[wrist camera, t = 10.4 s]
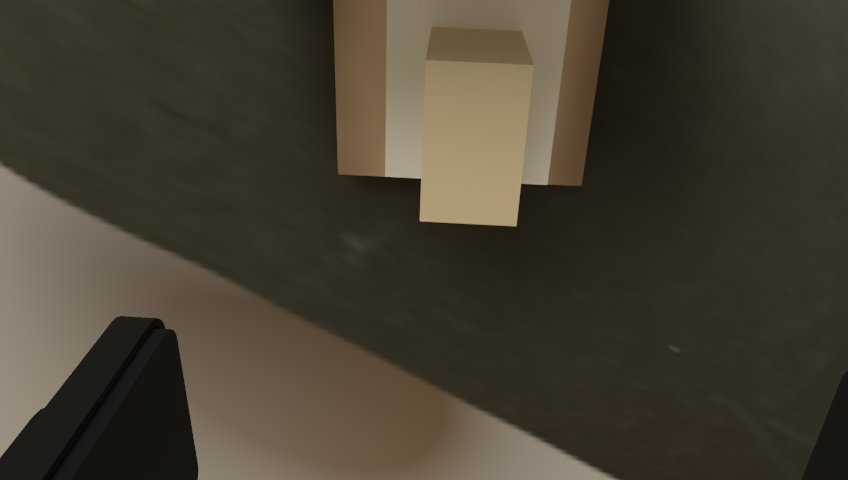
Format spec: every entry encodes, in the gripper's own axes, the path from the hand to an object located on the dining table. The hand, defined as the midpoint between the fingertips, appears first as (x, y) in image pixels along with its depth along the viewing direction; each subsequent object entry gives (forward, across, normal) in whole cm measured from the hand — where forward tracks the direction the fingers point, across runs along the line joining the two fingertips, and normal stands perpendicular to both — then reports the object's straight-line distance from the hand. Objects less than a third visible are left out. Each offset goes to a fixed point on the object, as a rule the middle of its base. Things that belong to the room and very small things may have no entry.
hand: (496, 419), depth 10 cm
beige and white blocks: (+24, 0, -2) cm, 24 cm away
